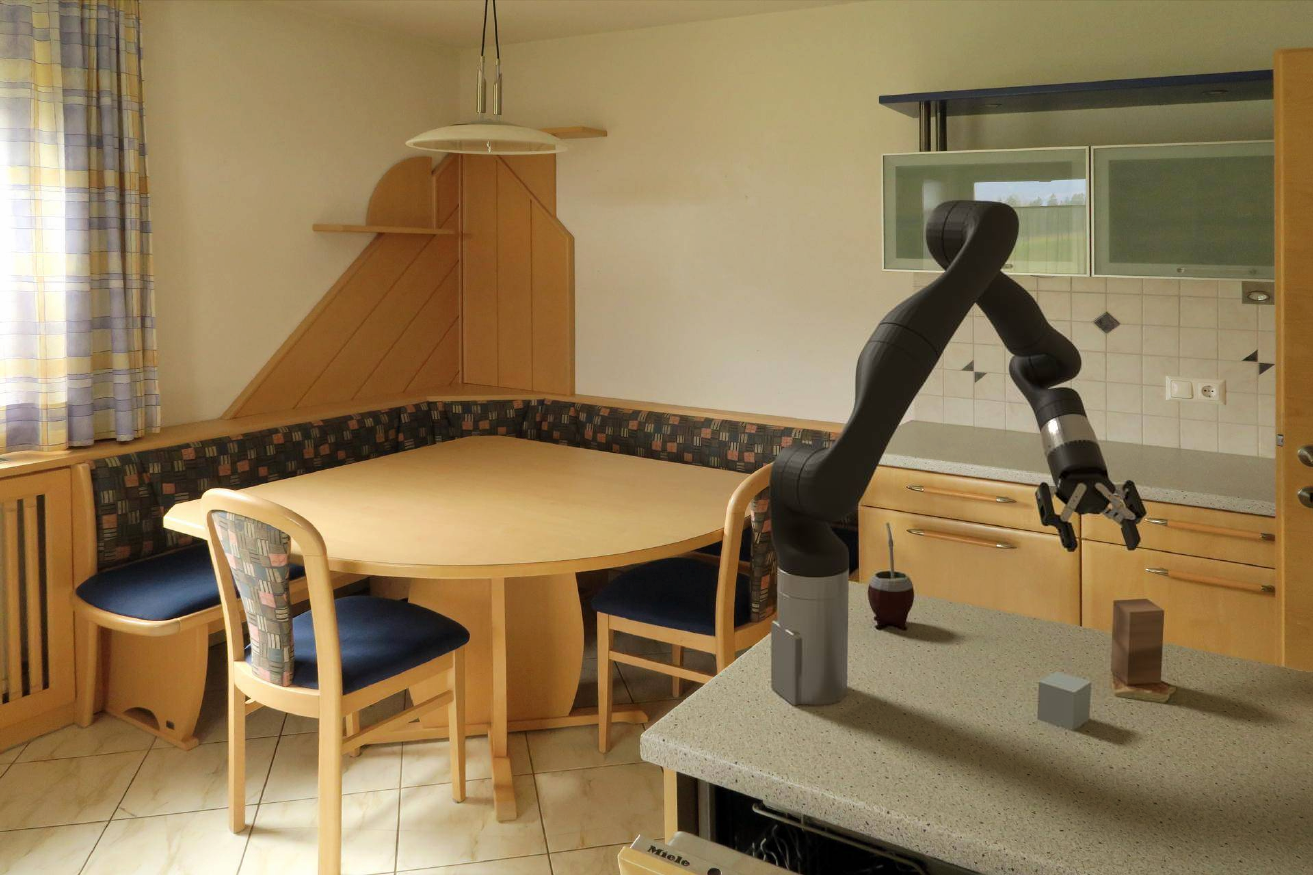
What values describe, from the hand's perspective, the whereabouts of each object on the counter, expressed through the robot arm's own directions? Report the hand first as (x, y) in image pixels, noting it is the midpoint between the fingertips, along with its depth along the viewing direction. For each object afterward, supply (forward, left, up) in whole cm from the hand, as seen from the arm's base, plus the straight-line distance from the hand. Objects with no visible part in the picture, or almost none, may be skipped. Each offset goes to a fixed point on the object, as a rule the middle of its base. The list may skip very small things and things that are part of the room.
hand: (1103, 548), depth 143 cm
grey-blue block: (-18, -13, -16) cm, 28 cm away
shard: (-3, -9, -17) cm, 20 cm away
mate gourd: (-18, +24, -16) cm, 35 cm away
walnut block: (-2, -9, -15) cm, 18 cm away
